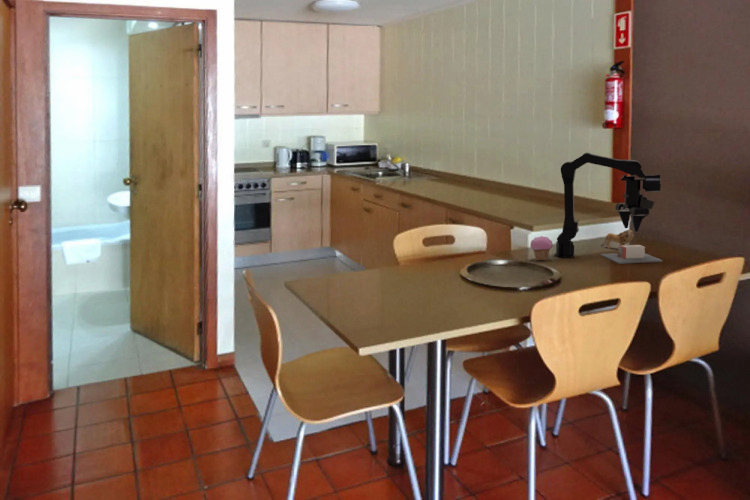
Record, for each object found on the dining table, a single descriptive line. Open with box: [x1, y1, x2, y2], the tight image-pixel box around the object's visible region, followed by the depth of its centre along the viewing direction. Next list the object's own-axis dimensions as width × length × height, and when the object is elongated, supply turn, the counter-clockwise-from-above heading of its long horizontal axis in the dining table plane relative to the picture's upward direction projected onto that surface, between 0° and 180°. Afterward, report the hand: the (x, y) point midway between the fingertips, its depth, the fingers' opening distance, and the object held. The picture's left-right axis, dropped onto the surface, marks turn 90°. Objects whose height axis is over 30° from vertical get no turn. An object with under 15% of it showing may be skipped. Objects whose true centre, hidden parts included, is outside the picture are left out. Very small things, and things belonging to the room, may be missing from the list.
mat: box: [600, 252, 664, 265], centre depth 274 cm, size 18×18×1 cm
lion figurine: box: [600, 229, 634, 250], centre depth 296 cm, size 15×5×9 cm, turn 47°
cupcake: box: [529, 235, 553, 261], centre depth 276 cm, size 9×9×10 cm
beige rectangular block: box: [617, 244, 646, 259], centre depth 274 cm, size 5×9×5 cm, turn 94°
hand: (631, 229), depth 273 cm, fingers open, 9 cm apart
